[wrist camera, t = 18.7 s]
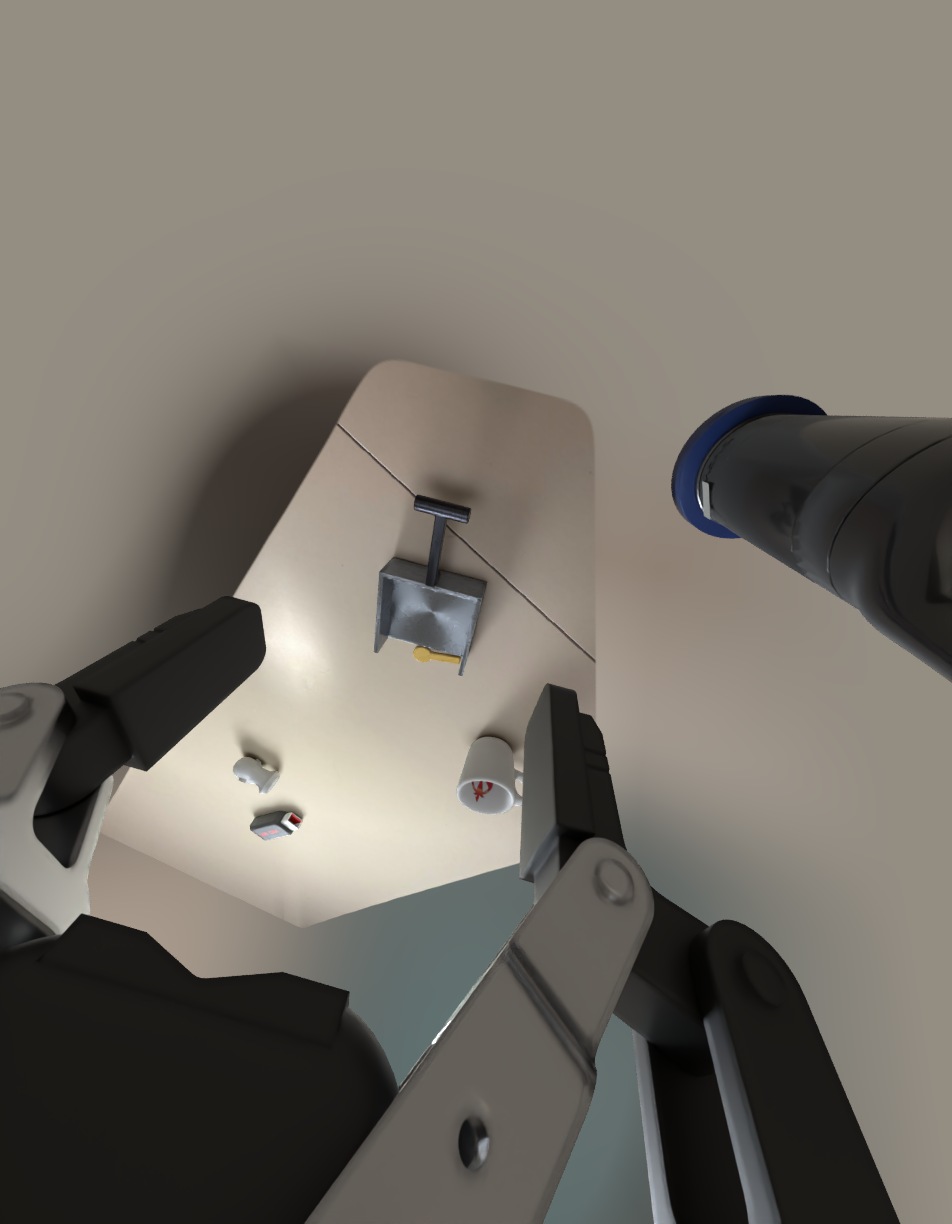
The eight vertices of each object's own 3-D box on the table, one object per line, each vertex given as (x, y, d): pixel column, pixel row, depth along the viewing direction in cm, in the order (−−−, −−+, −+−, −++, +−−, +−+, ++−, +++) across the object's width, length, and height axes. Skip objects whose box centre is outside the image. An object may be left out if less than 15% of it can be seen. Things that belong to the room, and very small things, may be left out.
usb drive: (254, 817, 76) (245, 830, 74) (289, 808, 72) (280, 821, 70) (272, 830, 78) (264, 843, 76) (306, 822, 74) (299, 835, 71)
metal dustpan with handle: (506, 505, 34) (502, 519, 30) (467, 655, 45) (461, 680, 41) (399, 477, 34) (381, 487, 30) (386, 633, 45) (371, 656, 41)
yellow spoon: (413, 646, 45) (414, 644, 45) (413, 660, 46) (414, 659, 46) (460, 654, 44) (460, 652, 45) (458, 668, 45) (459, 666, 46)
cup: (544, 751, 52) (545, 803, 45) (518, 778, 56) (516, 829, 49) (479, 722, 50) (470, 771, 44) (458, 751, 55) (447, 800, 48)
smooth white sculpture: (244, 753, 66) (247, 749, 63) (280, 775, 68) (285, 773, 64) (225, 774, 63) (227, 772, 60) (263, 797, 65) (267, 796, 61)
